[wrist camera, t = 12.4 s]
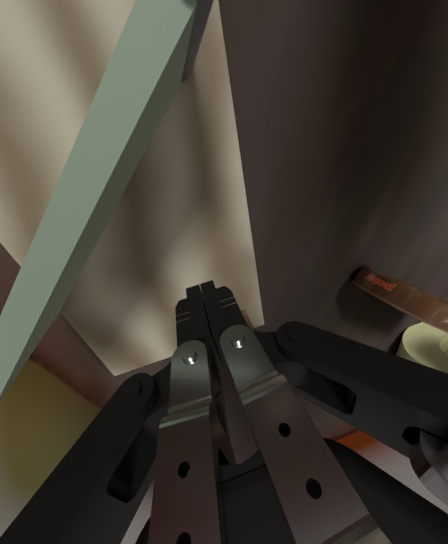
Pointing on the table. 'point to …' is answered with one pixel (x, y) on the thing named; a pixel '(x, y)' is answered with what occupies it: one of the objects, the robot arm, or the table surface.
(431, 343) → the pale yellow c-shaped piece
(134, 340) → the gate frame
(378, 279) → the tin
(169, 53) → the gate
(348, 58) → the table surface
